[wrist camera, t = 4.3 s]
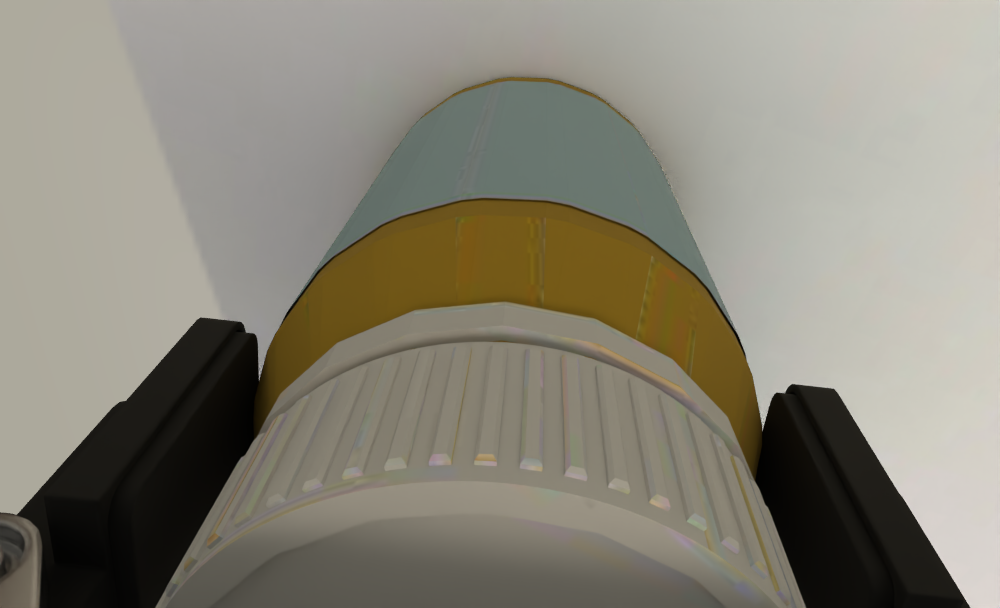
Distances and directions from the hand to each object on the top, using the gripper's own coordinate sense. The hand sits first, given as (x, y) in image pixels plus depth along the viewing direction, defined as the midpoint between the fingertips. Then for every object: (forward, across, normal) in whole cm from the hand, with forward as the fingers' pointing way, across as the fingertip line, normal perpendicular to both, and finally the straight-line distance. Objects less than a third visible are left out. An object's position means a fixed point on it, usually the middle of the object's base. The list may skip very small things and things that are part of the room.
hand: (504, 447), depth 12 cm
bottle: (+10, 0, 0) cm, 10 cm away
